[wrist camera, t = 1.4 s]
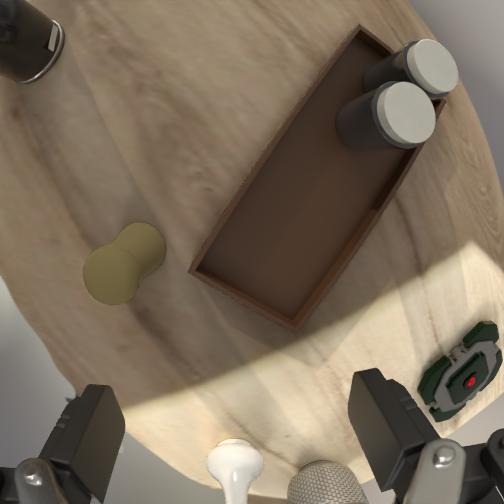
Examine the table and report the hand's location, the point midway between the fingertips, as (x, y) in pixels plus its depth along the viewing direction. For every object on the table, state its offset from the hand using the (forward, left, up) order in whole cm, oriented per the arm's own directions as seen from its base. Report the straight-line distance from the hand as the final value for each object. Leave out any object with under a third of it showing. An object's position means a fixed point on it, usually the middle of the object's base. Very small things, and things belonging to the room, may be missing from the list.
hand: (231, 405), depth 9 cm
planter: (+37, -30, -26) cm, 54 cm away
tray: (+5, +12, -25) cm, 28 cm away
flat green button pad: (+47, +1, -26) cm, 54 cm away
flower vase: (+19, -31, -26) cm, 44 cm away
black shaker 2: (+5, +18, -25) cm, 31 cm away
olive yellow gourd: (-8, -7, -26) cm, 28 cm away
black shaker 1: (+5, +25, -25) cm, 35 cm away
